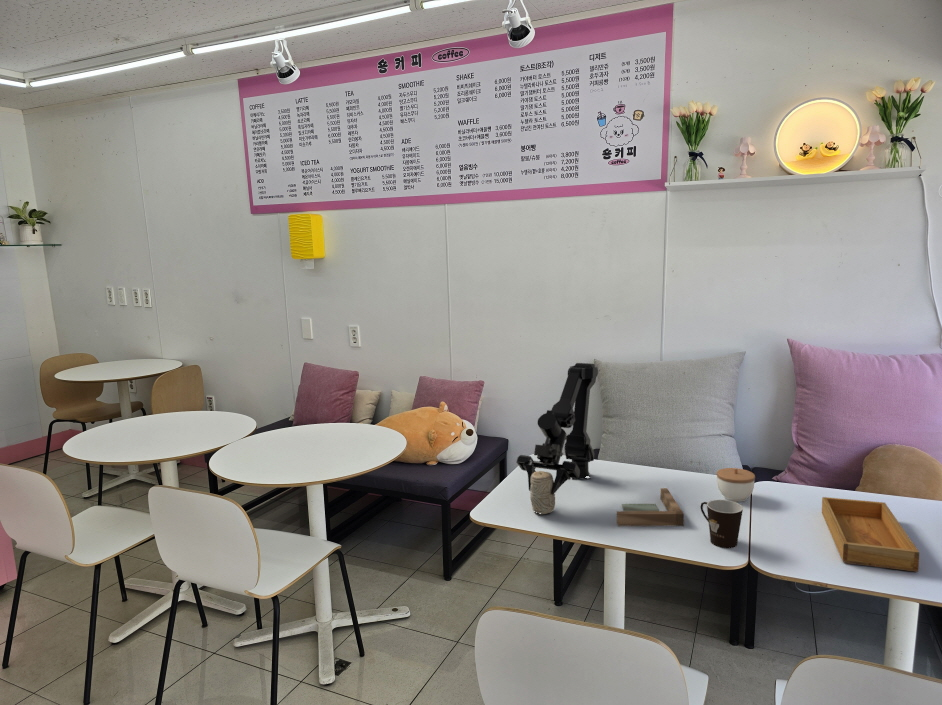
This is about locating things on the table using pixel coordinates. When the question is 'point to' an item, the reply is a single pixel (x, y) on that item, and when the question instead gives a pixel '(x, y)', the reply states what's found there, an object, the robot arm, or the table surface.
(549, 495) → the carving
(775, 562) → the table surface
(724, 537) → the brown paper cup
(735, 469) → the lidded jar
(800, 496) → the table surface
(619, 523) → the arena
